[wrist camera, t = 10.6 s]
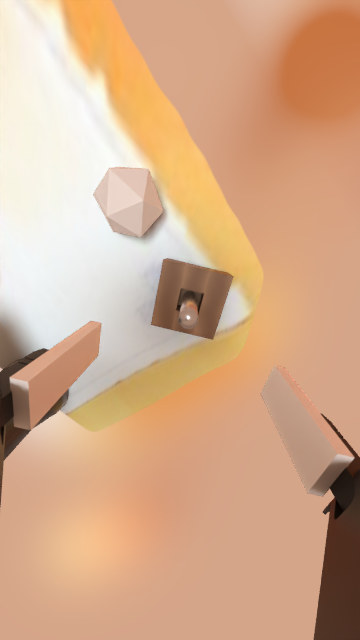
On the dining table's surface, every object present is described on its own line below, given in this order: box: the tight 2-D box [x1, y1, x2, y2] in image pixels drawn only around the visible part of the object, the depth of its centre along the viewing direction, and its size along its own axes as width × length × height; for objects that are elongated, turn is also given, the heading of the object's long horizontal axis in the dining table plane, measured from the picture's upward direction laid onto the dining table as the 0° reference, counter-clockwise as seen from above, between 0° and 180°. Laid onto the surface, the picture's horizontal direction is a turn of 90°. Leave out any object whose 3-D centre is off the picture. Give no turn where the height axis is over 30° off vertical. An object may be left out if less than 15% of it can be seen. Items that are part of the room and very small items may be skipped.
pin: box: [178, 291, 198, 329], centre depth 29 cm, size 2×2×12 cm
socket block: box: [151, 258, 233, 339], centre depth 34 cm, size 11×11×5 cm
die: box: [93, 167, 163, 237], centre depth 28 cm, size 8×9×10 cm
